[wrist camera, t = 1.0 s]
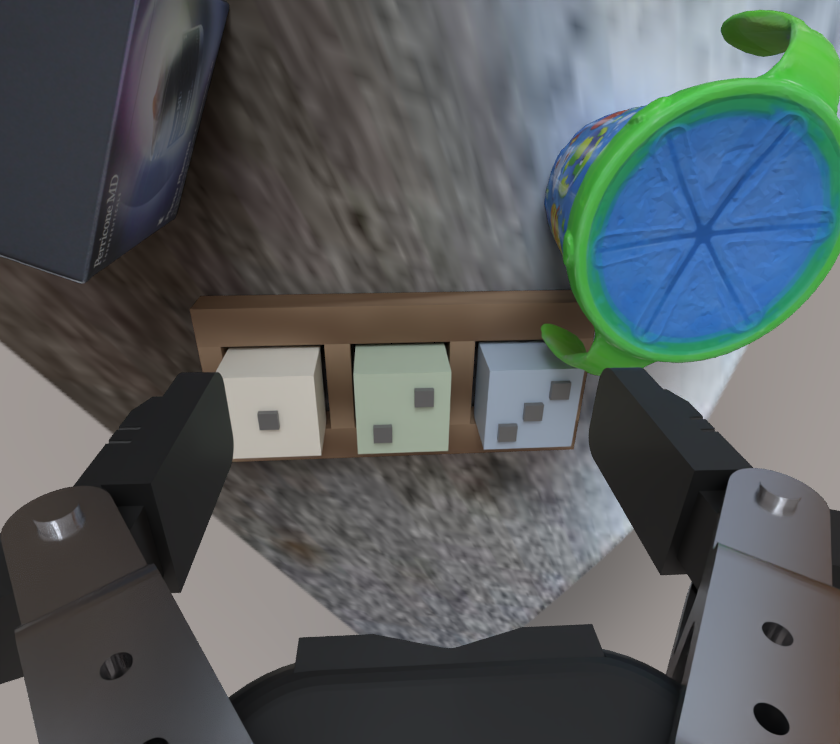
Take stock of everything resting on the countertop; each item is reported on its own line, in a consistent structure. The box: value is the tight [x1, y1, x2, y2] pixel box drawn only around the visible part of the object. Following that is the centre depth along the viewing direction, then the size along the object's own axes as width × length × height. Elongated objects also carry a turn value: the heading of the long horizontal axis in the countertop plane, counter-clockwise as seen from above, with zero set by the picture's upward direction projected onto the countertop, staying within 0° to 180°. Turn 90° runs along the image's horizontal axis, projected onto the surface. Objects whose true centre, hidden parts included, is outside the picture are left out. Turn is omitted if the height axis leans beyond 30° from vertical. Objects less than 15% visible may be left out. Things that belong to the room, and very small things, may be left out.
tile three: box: [474, 340, 584, 450], centre depth 30 cm, size 5×5×4 cm
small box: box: [0, 0, 229, 284], centre depth 20 cm, size 11×6×10 cm, turn 156°
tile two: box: [353, 343, 451, 454], centre depth 30 cm, size 5×5×4 cm
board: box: [190, 290, 595, 462], centre depth 32 cm, size 10×22×2 cm, turn 90°
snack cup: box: [541, 10, 840, 376], centre depth 24 cm, size 16×10×10 cm
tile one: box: [216, 346, 326, 459], centre depth 29 cm, size 5×5×4 cm
